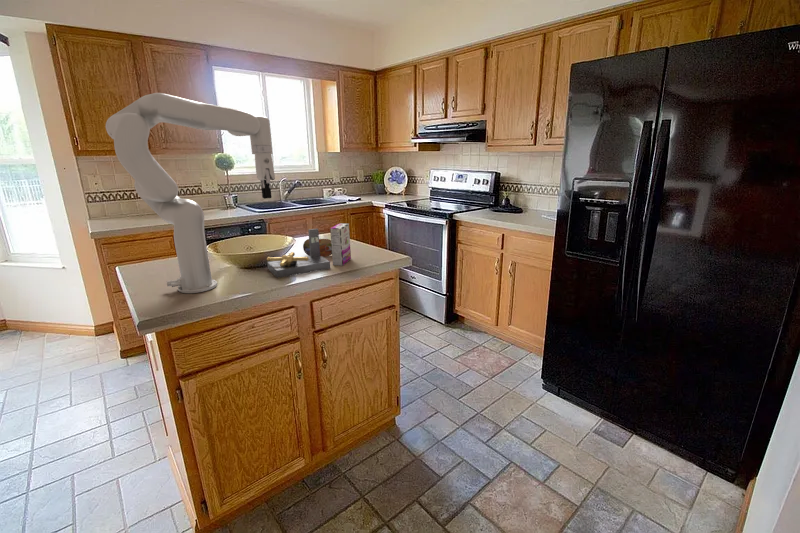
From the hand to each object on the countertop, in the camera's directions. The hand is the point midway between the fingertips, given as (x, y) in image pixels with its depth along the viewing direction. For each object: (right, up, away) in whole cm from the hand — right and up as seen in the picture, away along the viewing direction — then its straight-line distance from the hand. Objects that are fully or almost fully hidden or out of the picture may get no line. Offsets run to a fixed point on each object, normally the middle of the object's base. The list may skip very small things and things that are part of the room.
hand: (267, 198), depth 151 cm
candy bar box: (+28, -26, +15) cm, 41 cm away
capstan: (+8, -27, +1) cm, 28 cm away
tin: (+16, -23, +26) cm, 38 cm away
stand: (+11, -28, +6) cm, 31 cm away
